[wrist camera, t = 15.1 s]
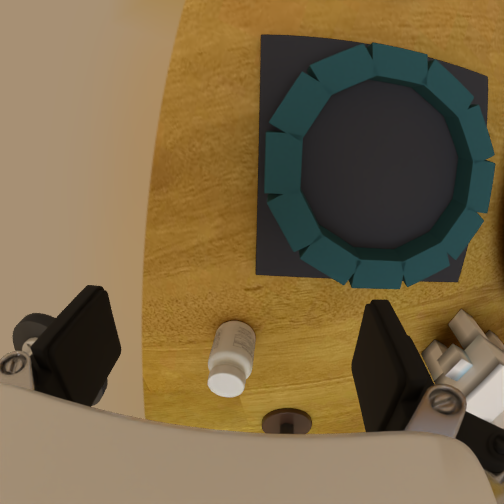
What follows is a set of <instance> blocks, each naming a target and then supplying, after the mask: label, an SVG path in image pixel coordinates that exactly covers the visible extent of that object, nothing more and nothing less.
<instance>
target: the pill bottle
mask: <svg viewBox="0 0 504 504" xmlns="http://www.w3.org/2000/svg"><path fill="white" fill-rule="evenodd" d="M255 340H256V337H255V333H254V331H253V330H252V328H251V327H250V326H248V325H247V324H245V323H243V322H240V321H229V322H226V323H223V324H222V325H221V326H220V327H219V328H218V329H217V332H216V335H215V339H214V342H213V346H212V349H211V353H210V356H209V360H208V368H209V370H210V373H209V378H208V386H209V388H210V390H211V391H212V392H214V393H215V394H217V395H219V396H223V397H235V396H238V395H240V394H241V393H242V392H243V390H244V387H245V382H246V379H247V378H248V377H249V376H250V374H251V372H252V366H253V358H254V349H255Z"/></svg>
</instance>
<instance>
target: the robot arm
mask: <svg viewBox="0 0 504 504" xmlns="http://www.w3.org/2000/svg"><path fill="white" fill-rule="evenodd" d="M120 354H121V345H120V341H119V338H118V334H117V330H116V326H115V322H114V318H113V314H112V310H111V306H110V302H109V297H108V293H107V292H106V291H105V290H104V289H103V287H101V286H94V285H88V286H86V287H85V288H84V289H83V290H82V291H81V292H80V293H79V294H78V295H77V297H75V298H74V299H73V301H72V302H71V303H70V304H69V305H68V306H67V307H66V308H65V309H64V310H63V311H62V312H61V313H60V314H59V315H58V316H57V318H56V319H55V320H54V321H53V322H52V323H51V324H50V325H49V326H48V327H47V328H46V330H45V331H44V332H43V333H42V334H41V335H40V336H39V337H38V338H36V337H34V338H30V339H28V340H27V341H26V342H25V343H24V345H23V347H22V351H13V352H10V353H8V354H6V355H5V356H3V357H2V358H1V359H0V504H504V429H502V428H500V427H498V426H496V425H494V424H492V423H490V422H488V421H485V420H483V419H481V418H479V417H477V416H475V415H473V414H471V413H469V412H467V411H466V408H467V402H466V398H465V396H464V395H463V393H462V392H461V391H460V390H459V389H457V388H455V387H454V386H451V385H448V384H436V385H434V383H433V381H432V379H431V377H430V375H429V373H428V371H427V369H426V367H425V365H424V363H423V361H422V359H421V357H420V355H419V353H418V351H417V349H416V347H415V345H414V343H413V341H412V339H411V338H410V336H408V335H407V334H406V332H405V330H404V328H403V326H402V325H401V323H400V321H399V319H398V317H397V315H396V313H395V311H394V310H393V308H392V306H391V304H390V302H389V301H388V300H372V301H371V303H370V304H366V306H365V310H364V314H363V319H362V323H361V327H360V332H359V336H358V340H357V344H356V348H355V352H354V356H353V360H352V367H351V368H352V374H353V378H354V382H355V386H356V390H357V395H358V399H359V403H360V407H361V412H362V416H363V421H364V425H365V430H366V432H362V433H341V434H269V433H250V432H236V431H225V430H214V429H205V428H197V427H190V426H182V425H176V424H169V423H163V422H157V421H152V420H147V419H141V418H136V417H131V416H126V415H122V414H118V413H113V412H109V411H105V410H101V409H97V408H93V407H91V406H92V404H93V402H94V400H95V399H96V397H97V395H98V393H99V391H100V390H101V388H102V386H103V384H104V382H105V381H106V379H107V377H108V375H109V374H110V372H111V370H112V368H113V367H114V365H115V363H116V361H117V360H118V358H119V356H120Z"/></svg>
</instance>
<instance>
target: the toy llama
mask: <svg viewBox="0 0 504 504" xmlns="http://www.w3.org/2000/svg"><path fill="white" fill-rule="evenodd" d="M448 325H449V327H450V328H451V330H452V331H453V333H454V334H455V336H456V338H457V339H458V341H459V342H460V344H461V346H462V347H463V349H464V350H463V349H461V348H460V347H458V346H456V345H455V344H452V345H451V346H450V347H449V348H448V349H447V347H446V346H445V345H444V344H442V343H440V342H438V341H437V340H434V341H433V342H432V343H431V344H430V345H429V346H428V347H427V348H426V349H425V350H424V351H423V352H422V353H421V354H422V356H423V358H424V360H425V362H426V365H427V367H428V369H429V371H430V373H431V375H432V378H433V380H434V382H435V384H448V385H451V386H454V387H455V388H457V389H459V390H460V391H461V392H462V393H463V395H464V396H465V398H466V402H467V408H466V411H467V412H469V413H471V414H473V415H475V416H477V417H479V418H481V419H483V420H485V421H488V422H490V423H492V424H494V425H496V426H498V427H500V428H502V429H504V345H503V343H502V342H501V341H500V339H499V338H498V337H497V335H495V334H494V333H493V332H491V331H490V330H489V331H488V332H487V333H486V334H484V333H483V331H482V330H481V328H480V327H479V326H478V324H477V323H476V322H475V320H474V319H473V318H472V316H470V315H469V314H468V313H466V312H465V311H464V310H462V309H461V310H460V311H459V312H458V313H457V314H456V316H455V317H454V318H453V319H452V320H451V322H450V323H449V324H448Z"/></svg>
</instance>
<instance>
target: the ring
mask: <svg viewBox="0 0 504 504" xmlns="http://www.w3.org/2000/svg"><path fill="white" fill-rule="evenodd" d="M307 72H308V74H309V75H308V74H306V73H304V72H301V74H300V75H299V76H298V78H297V79H296V81H295V82H294V84H293V85H292V87H291V88H290V90H289V92H288V93H287V95H286V96H285V98H284V99H283V101H282V102H281V104H280V105H279V107H278V108H277V110H276V111H275V113H274V115H273V116H272V118H271V119H270V121H269V123H270V124H272V125H273V126H275V127H277V128H278V129H280V130H282V131H267V132H266V136H265V176H264V193H269V194H268V197H267V204H268V206H269V208H270V210H271V212H272V214H273V215H274V217H275V219H276V221H277V223H278V224H279V226H280V228H281V230H282V232H283V234H284V235H285V237H286V239H287V241H288V243H289V245H290V247H291V248H292V250H293V252H296V251H298V250H299V255H300V259H301V260H303V261H304V262H306V263H308V264H309V265H311V266H313V267H314V268H316V269H318V270H319V271H321V272H323V273H324V274H326V275H327V276H329V277H331V278H332V279H334V280H336V281H337V282H339V283H341V284H342V285H345V284H346V282H347V281H348V280H349V282H350V285H351V288H372V289H400V287H401V283H402V280H403V281H404V283H405V284H406V286H407V287H409V286H411V285H413V284H415V283H417V282H419V281H421V280H423V279H425V278H427V277H429V276H431V275H433V274H435V273H437V272H439V271H441V270H443V269H444V268H446V267H448V266H450V264H449V259H448V255H447V253H448V254H449V255H450V256H451V257H452V258H453V259H454V260H456V259H457V258H458V257H459V255H460V254H461V253H462V251H463V250H464V249H465V247H466V246H467V245H468V243H469V242H470V240H471V239H472V238H473V236H474V235H475V233H476V232H477V231H478V229H479V228H480V226H481V225H482V223H483V222H484V220H483V219H482V218H481V217H480V216H479V214H478V213H477V212H480V213H487V212H488V207H489V202H490V196H491V190H492V184H493V178H494V170H495V163H493V162H490V161H487V160H486V159H488V158H490V157H492V156H494V155H495V154H494V150H493V147H492V143H491V140H490V136H489V133H488V130H487V127H486V124H485V121H484V118H483V115H482V112H481V109H480V106H479V105H476V104H471V102H472V100H473V99H474V96H473V95H472V94H471V93H470V92H469V91H468V90H467V89H466V88H465V87H464V86H463V85H462V84H461V83H460V82H459V81H458V80H457V79H456V78H455V77H454V76H453V75H452V74H451V73H450V72H449V71H448V70H447V69H446V68H445V67H443V66H442V65H441V64H440V63H439V62H438V61H437V60H436V59H434V60H431V61H428V59H427V54H423V53H419V52H415V51H411V50H407V49H403V48H398V47H393V46H389V45H384V44H378V43H371V44H370V45H369V46H368V47H365V45H364V44H360V45H357V46H355V47H352V48H349V49H347V50H344V51H342V52H339V53H337V54H334V55H332V56H330V57H327V58H325V59H322V60H320V61H318V62H316V63H313V64H311V65H310V66H309V68H308V69H307ZM366 80H374V81H380V82H386V83H391V84H397V85H402V86H407V87H411V88H413V89H414V90H415V91H416V92H417V93H418V94H420V95H421V96H422V97H423V98H424V99H425V100H426V101H428V102H429V103H430V104H431V105H432V106H433V107H434V108H435V109H436V110H437V111H439V112H440V113H441V114H442V115H443V116H444V118H445V121H446V123H447V126H448V129H449V131H450V134H451V137H452V140H453V143H454V146H455V149H456V152H457V155H458V164H457V172H456V179H455V186H454V193H453V199H452V200H451V202H450V203H449V205H448V206H447V208H446V209H445V210H444V212H443V213H442V215H441V216H440V218H439V219H438V220H437V222H436V223H435V224H434V226H433V227H432V229H431V230H430V231H429V232H428V233H426V234H424V235H422V236H420V237H418V238H416V239H414V240H412V241H410V242H408V243H406V244H404V245H402V246H400V247H398V248H395V249H379V248H361V247H353V246H351V245H350V244H348V243H347V242H345V241H344V240H342V239H341V238H339V237H338V236H336V235H335V234H333V233H332V232H330V231H329V230H327V229H326V228H324V227H323V226H321V225H320V224H319V223H318V221H317V219H316V217H315V215H314V213H313V211H312V209H311V207H310V205H309V203H308V201H307V199H306V197H305V196H304V194H303V192H302V190H301V188H300V187H301V169H302V148H303V137H304V136H305V134H306V133H307V131H308V130H309V128H310V127H311V125H312V124H313V122H314V121H315V119H316V118H317V116H318V115H319V113H320V112H321V110H322V109H323V107H324V106H325V104H326V103H327V101H328V100H329V98H330V97H331V95H333V94H335V93H338V92H340V91H342V90H344V89H347V88H349V87H351V86H354V85H356V84H358V83H361V82H363V81H366Z"/></svg>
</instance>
